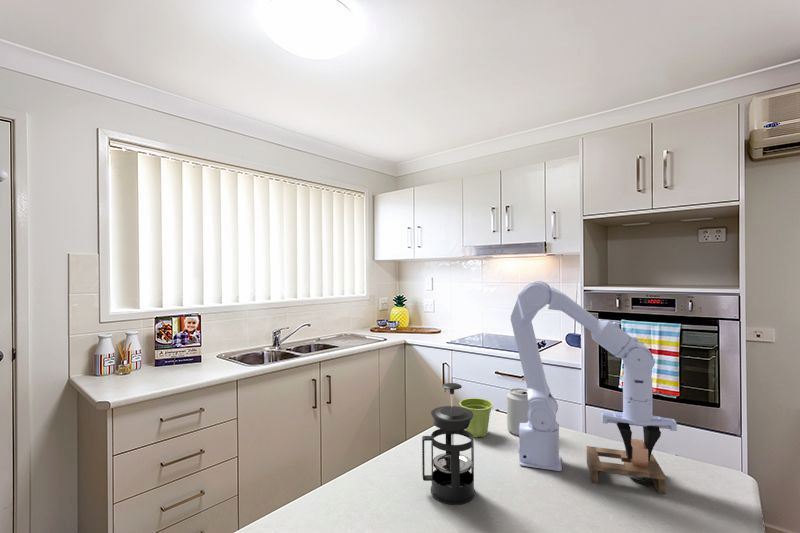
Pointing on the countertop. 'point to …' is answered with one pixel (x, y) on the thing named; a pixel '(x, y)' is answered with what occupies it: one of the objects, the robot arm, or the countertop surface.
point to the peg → (639, 456)
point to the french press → (451, 454)
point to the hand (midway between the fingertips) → (637, 457)
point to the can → (517, 409)
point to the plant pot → (478, 415)
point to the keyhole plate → (623, 466)
